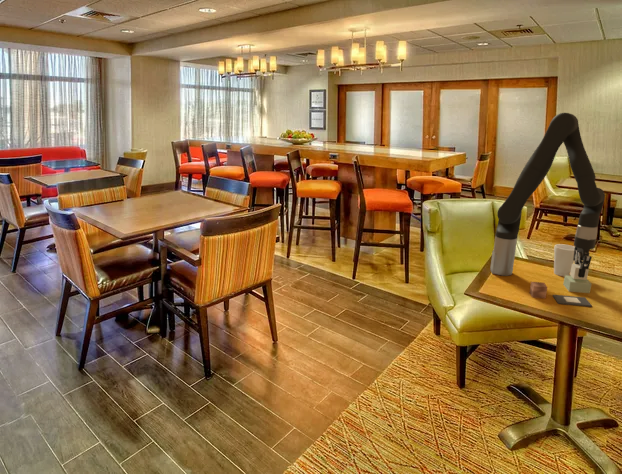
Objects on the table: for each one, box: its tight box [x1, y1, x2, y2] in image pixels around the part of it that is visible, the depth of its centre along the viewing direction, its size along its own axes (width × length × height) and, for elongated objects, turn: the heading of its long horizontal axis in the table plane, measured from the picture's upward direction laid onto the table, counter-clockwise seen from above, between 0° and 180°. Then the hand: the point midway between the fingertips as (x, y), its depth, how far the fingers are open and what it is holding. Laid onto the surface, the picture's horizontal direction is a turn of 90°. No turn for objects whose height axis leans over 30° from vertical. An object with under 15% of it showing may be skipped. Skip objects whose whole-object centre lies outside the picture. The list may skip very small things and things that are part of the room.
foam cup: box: [553, 243, 575, 277], centre depth 212 cm, size 10×9×13 cm
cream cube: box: [569, 263, 590, 280], centre depth 195 cm, size 5×5×5 cm
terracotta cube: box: [529, 281, 548, 300], centre depth 189 cm, size 5×5×5 cm
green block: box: [562, 275, 592, 294], centre depth 197 cm, size 8×8×4 cm
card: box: [552, 294, 593, 308], centre depth 184 cm, size 12×8×1 cm, turn 78°
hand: (578, 274), depth 195 cm, fingers open, 5 cm apart
